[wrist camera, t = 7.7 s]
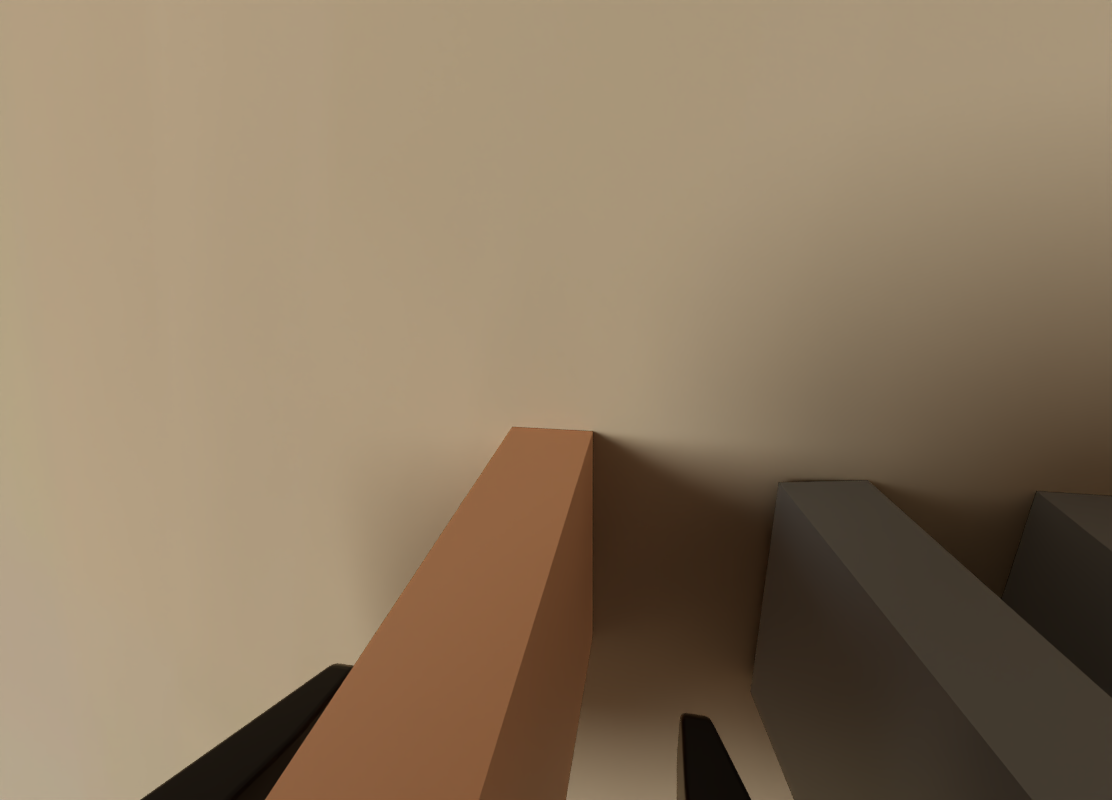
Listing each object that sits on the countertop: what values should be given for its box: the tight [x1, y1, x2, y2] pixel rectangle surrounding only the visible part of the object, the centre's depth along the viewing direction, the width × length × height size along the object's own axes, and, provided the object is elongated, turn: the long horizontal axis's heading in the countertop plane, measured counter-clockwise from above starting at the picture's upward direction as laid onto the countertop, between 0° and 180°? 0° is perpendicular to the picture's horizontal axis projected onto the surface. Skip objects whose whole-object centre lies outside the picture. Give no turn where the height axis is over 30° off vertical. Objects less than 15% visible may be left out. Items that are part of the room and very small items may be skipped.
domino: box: [265, 427, 593, 800], centre depth 7 cm, size 2×5×9 cm, turn 1°
